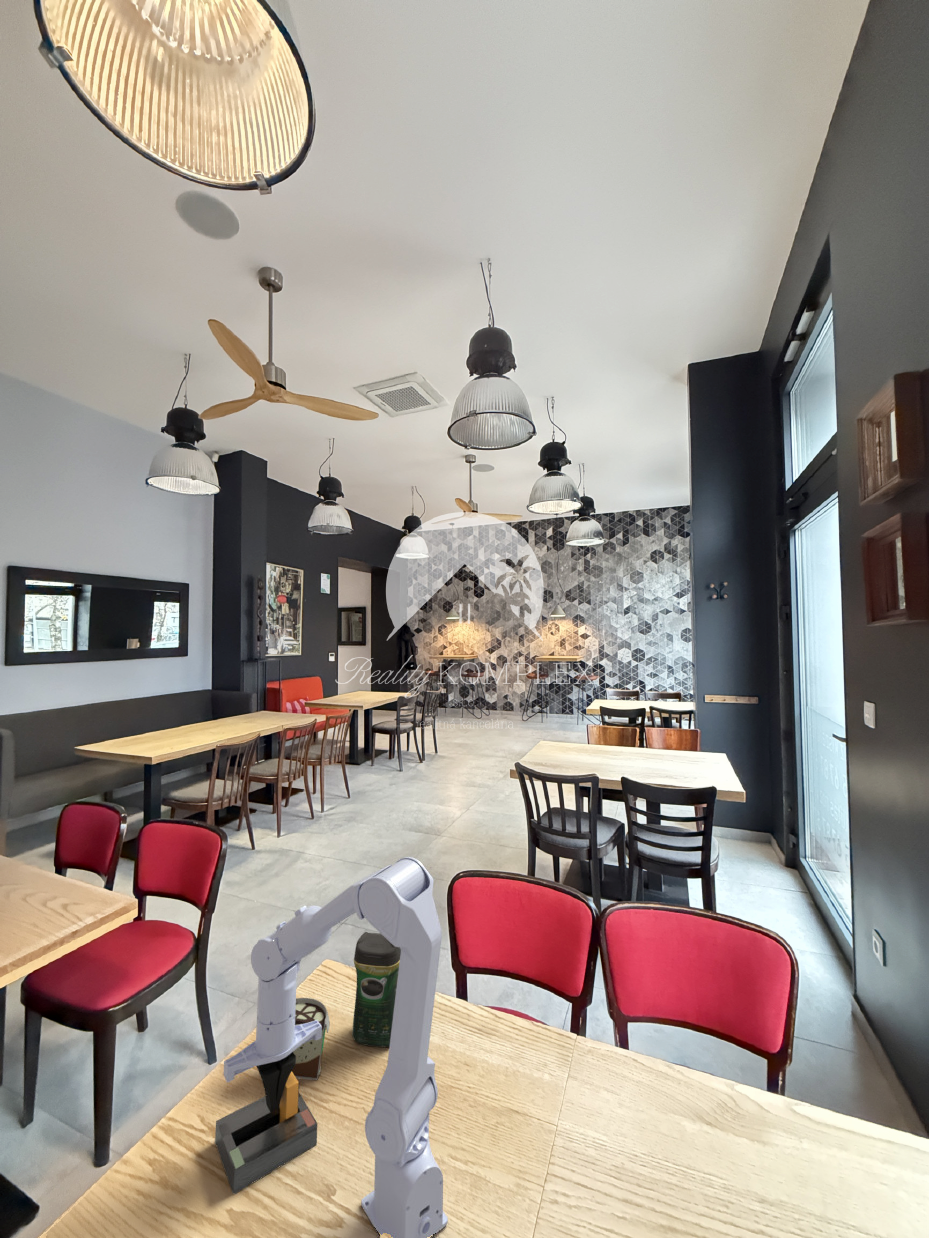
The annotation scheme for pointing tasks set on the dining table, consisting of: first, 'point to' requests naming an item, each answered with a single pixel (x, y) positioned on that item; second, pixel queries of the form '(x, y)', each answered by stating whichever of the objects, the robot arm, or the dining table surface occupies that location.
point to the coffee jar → (375, 989)
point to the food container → (311, 1050)
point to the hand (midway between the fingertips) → (272, 1105)
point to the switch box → (262, 1140)
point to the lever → (289, 1098)
